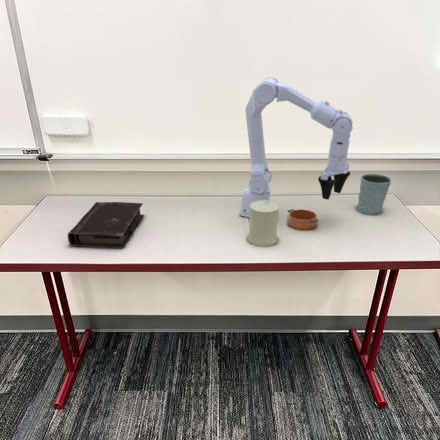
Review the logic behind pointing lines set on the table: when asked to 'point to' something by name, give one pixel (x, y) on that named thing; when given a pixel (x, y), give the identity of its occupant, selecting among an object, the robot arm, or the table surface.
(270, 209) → the can
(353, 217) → the table surface
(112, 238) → the diary
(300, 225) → the pan
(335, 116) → the robot arm
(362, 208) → the grey cylinder
